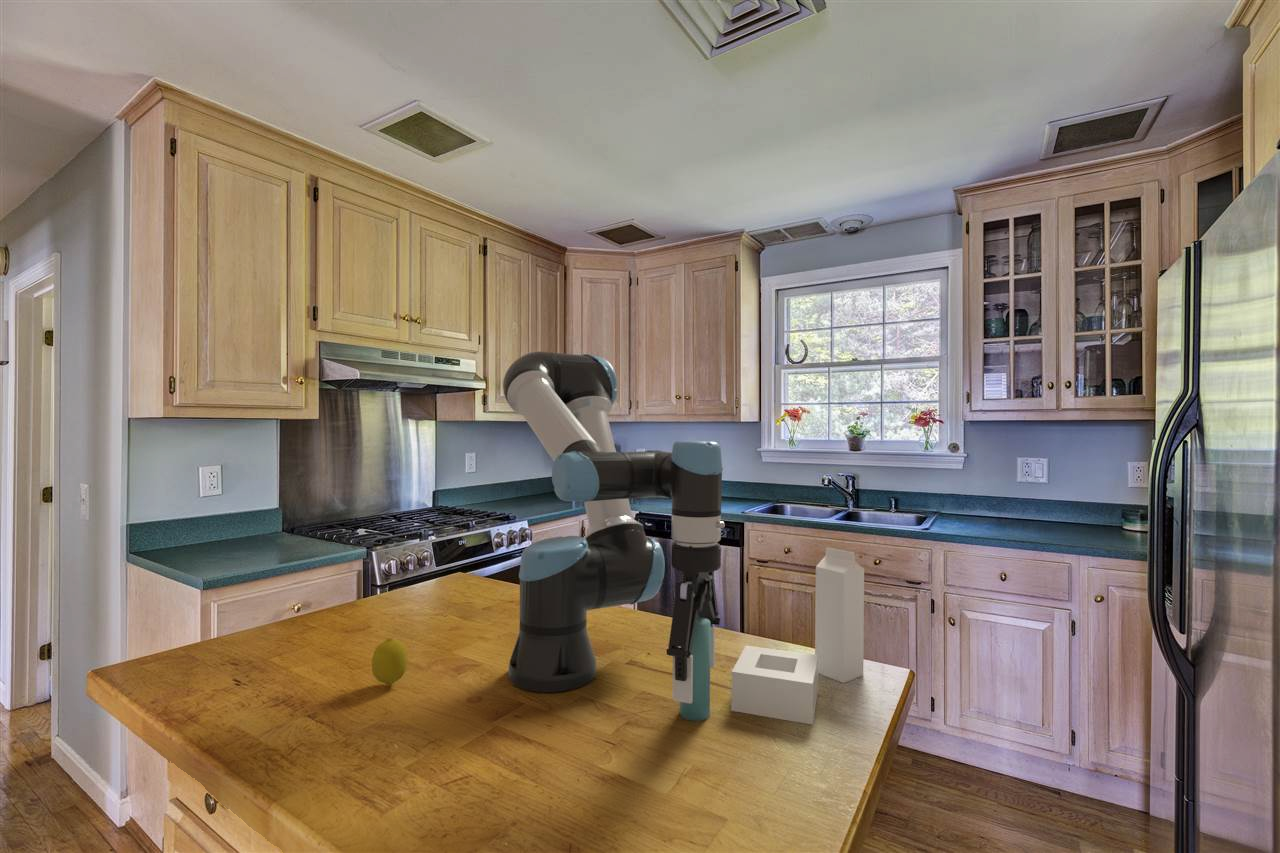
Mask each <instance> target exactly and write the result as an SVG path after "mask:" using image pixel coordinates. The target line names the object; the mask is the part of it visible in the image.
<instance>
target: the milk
mask: <svg viewBox="0 0 1280 853" xmlns="http://www.w3.org/2000/svg"><path fill="white" fill-rule="evenodd" d="M814 601H815V604H814V605H815V612H814V614H815V615H814V616H815V617H814V618H815V619H814V623H815V624H814V625H815V626H814V630H815V631H814V633H815V634H814V637H815V638H814V643H815V644H814V655H818V675H821V676H824V677H827V678H829V679H832V680H833V681H834V680H835V681H837V682H840V683H842V684H845V683H847V682H850V681H852V680H854V679H857V677H858V678H860V677H862V676H864V658H865V657H864V650H865V648H864V645H865V644H864V639H865V638H864V637H865V636H864V635H865V634H864V632H865V631H864V630H865V629H864V628H865V626H864V625H865V619H864V618H865V616H864V615H865V568H864V567H863V566H861V564H859V563H858V562H856V554H855V552H853V551H847V550H843V549H836V548H832V547H826V548H825V556H824V557H823V558H822V559H821V560H820V561H819V562H818V563H817V565H816V566H815V600H814Z"/></svg>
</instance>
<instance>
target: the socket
mask: <svg viewBox="0 0 1280 853" xmlns="http://www.w3.org/2000/svg"><path fill="white" fill-rule="evenodd" d="M818 694H819V673H818V655H815V654H813V653H804V652H799V651H798V652H797V651H789V650H782V649H775V648H767V647H761V646H752V645H745V646H744V648H743V650H742V652H741V653H740V656H739V658H738V659H737V661H736V663H735V665H734V667H733V669H732V670H731V701H730V702H731V703H730V705H731V707H730V708H731V709H730V710H731V712H737V713H742V714H743V713H744V714H747V715H755V716H761V717H766V718H771V719H777V720H784V721H788V722H794V723H795V722H796V723H801V724H806V725H813V723H814V717H815V711H816V707H817V706H816V705H817V700H818Z"/></svg>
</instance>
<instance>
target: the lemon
mask: <svg viewBox="0 0 1280 853" xmlns="http://www.w3.org/2000/svg"><path fill="white" fill-rule="evenodd" d="M408 661H409V658H408V651H407V648H406V646H405V645H404V643H403V642H402V641H401V640H398V639H396V638H393V637H388V638H386V639H385V640H383V641H382V642H381V643H379V645H377V646H376V648H375V650H374V652H373V654H372V658H371V669H372V670H371V671H372V675H373V676H374V678H375V680H377V681H378V682H379V683H382V684H385V685H386V686H387V687H391V686H393V684H394V683H397V681H399V680H400V679H401V678H403V676H404V674H406V671H407V669H408V668H407V667H408V663H409V662H408Z"/></svg>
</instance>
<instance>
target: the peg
mask: <svg viewBox="0 0 1280 853" xmlns="http://www.w3.org/2000/svg"><path fill="white" fill-rule="evenodd" d="M710 625H711V622H710V620H708V619H706V618H701V617H698V616H697V621H696V626H695V632H694V637H693V643H692V649H691V655H693V700H692V703H691V704H690V703H684V702H679V715H680V717H681V718H683V719H685V720H687V721H691V722H692V721H693V722H701V721H705V720H707V719H709V717H710V715H711V710H710V709H711V706H710V705H711V701H710V700H711V667H710ZM680 648H682V647H681V646H680Z"/></svg>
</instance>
